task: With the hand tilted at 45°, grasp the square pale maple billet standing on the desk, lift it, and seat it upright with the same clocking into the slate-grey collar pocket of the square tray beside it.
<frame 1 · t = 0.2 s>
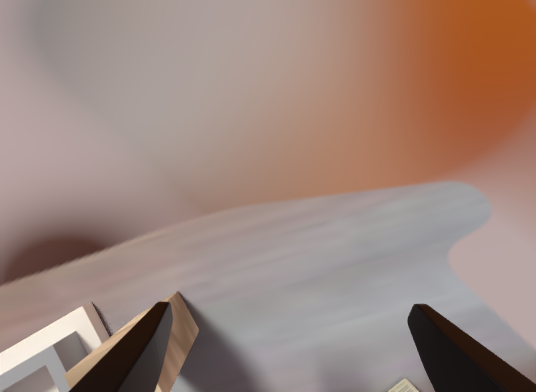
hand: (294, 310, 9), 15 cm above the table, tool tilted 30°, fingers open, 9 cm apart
billet: (168, 322, 23), on the table
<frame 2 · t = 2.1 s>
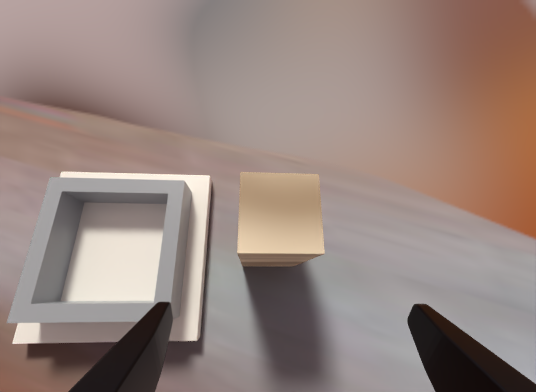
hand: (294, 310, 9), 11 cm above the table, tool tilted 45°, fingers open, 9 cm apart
billet: (267, 240, 21), on the table
square tray: (130, 251, 20), on the table
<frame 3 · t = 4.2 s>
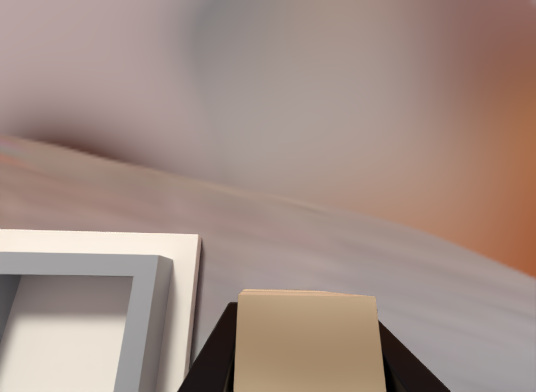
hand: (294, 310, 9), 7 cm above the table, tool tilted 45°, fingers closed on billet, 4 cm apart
billet: (276, 325, 15), on the table, touching gripper
square tray: (85, 342, 14), on the table
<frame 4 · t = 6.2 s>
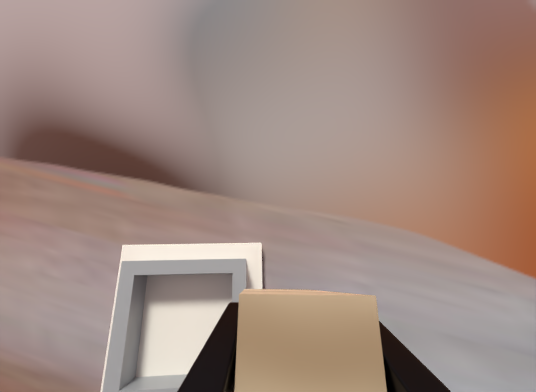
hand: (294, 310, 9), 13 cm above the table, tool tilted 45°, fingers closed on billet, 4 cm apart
billet: (276, 325, 15), point 7 cm above the table, touching gripper
square tray: (191, 319, 21), on the table
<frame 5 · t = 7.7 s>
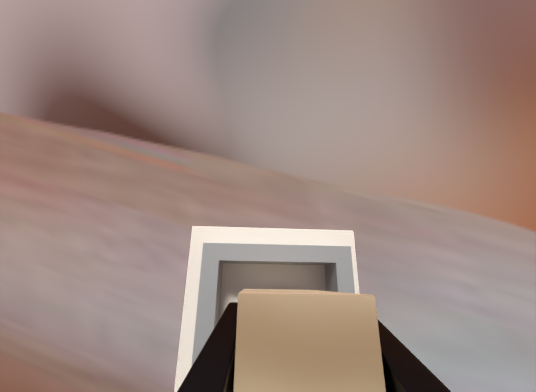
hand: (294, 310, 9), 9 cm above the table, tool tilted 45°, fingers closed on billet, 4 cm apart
billet: (276, 324, 15), point 2 cm above the table, touching gripper
square tray: (272, 318, 18), on the table
when the fingers open (9 cm above the table, at t = 8.7 s): billet drops 1 cm, resting on square tray.
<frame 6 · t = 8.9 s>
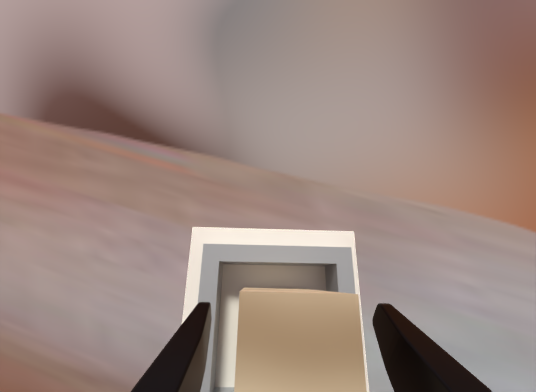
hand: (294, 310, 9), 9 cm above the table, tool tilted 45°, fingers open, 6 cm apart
billet: (273, 321, 16), point 1 cm above the table, touching square tray
square tray: (272, 319, 18), on the table
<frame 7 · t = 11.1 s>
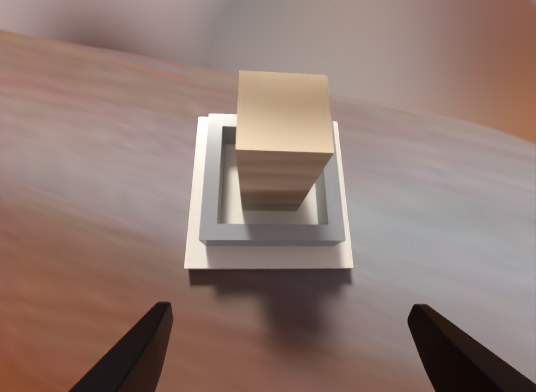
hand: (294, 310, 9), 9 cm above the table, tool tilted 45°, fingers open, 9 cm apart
billet: (269, 185, 19), point 1 cm above the table, touching square tray
square tray: (268, 191, 21), on the table
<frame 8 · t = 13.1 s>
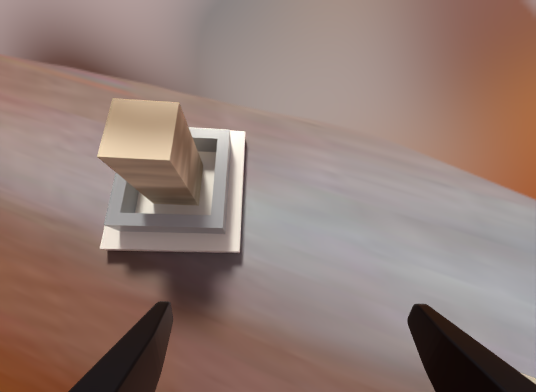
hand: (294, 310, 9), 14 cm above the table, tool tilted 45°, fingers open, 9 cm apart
billet: (179, 183, 24), point 1 cm above the table, touching square tray
square tray: (182, 188, 25), on the table
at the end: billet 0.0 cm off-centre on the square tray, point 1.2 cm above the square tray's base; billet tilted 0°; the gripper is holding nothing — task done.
